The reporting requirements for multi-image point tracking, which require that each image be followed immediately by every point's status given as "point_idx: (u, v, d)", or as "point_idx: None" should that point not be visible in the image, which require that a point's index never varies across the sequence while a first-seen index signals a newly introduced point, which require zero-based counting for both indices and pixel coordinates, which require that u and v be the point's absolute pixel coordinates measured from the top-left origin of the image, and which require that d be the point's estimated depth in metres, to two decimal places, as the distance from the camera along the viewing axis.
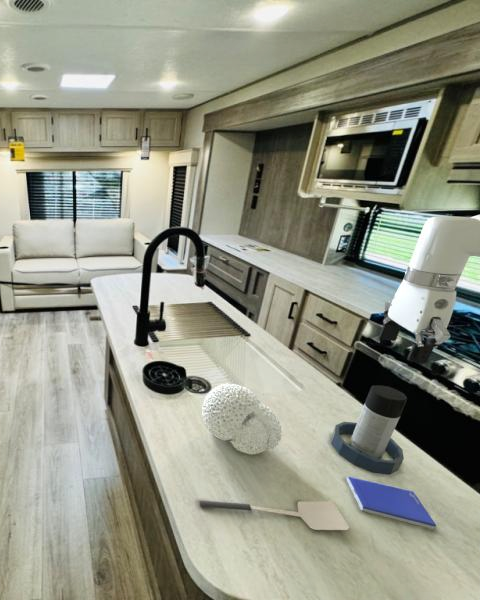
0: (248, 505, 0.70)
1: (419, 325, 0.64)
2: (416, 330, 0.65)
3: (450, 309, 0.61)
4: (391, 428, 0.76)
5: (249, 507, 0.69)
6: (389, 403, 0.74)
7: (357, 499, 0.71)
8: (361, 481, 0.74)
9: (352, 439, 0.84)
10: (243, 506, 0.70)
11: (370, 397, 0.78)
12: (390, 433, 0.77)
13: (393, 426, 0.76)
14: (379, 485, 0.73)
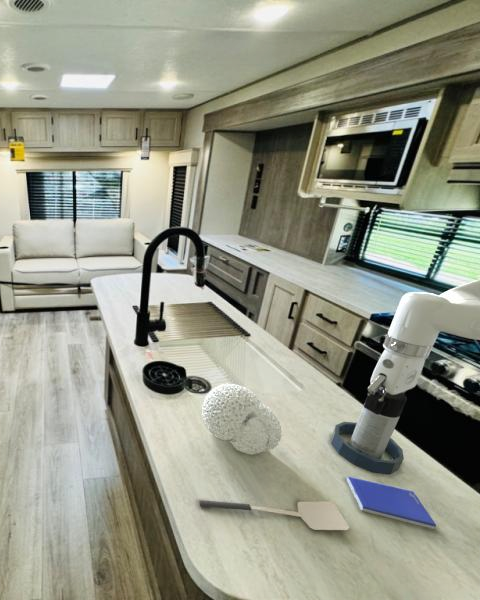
0: (248, 505, 0.70)
1: (371, 377, 0.75)
2: (371, 381, 0.76)
3: (396, 371, 0.71)
4: (391, 428, 0.76)
5: (249, 507, 0.70)
6: (389, 402, 0.74)
7: (357, 499, 0.71)
8: (361, 481, 0.74)
9: (352, 439, 0.84)
10: (243, 505, 0.70)
11: None
12: (390, 432, 0.77)
13: (393, 425, 0.76)
14: (379, 485, 0.73)
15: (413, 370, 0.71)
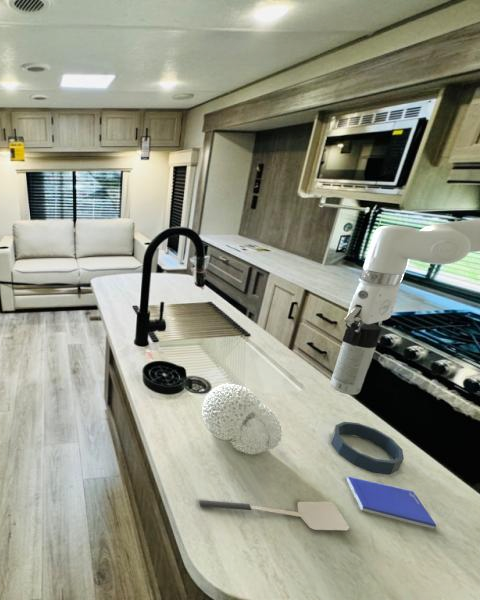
0: (248, 505, 0.70)
1: None
2: (348, 315, 0.81)
3: (370, 300, 0.75)
4: (368, 358, 0.81)
5: (249, 507, 0.70)
6: (365, 333, 0.79)
7: (357, 499, 0.71)
8: (361, 481, 0.74)
9: (333, 375, 0.88)
10: (243, 505, 0.70)
11: None
12: (367, 363, 0.82)
13: (369, 356, 0.81)
14: (379, 485, 0.73)
15: (386, 300, 0.76)
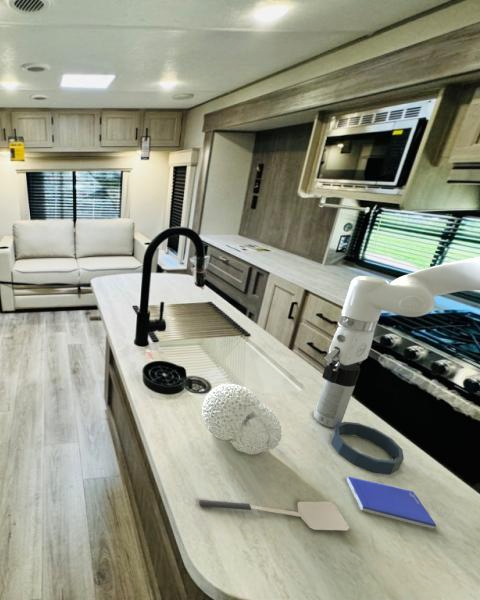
0: (248, 505, 0.70)
1: (329, 351, 0.87)
2: None
3: (347, 344, 0.82)
4: (348, 396, 0.88)
5: (249, 507, 0.70)
6: (345, 373, 0.86)
7: (357, 499, 0.71)
8: (361, 481, 0.74)
9: (316, 408, 0.95)
10: (243, 505, 0.70)
11: None
12: (347, 400, 0.88)
13: (349, 394, 0.87)
14: (379, 485, 0.73)
15: (362, 343, 0.82)
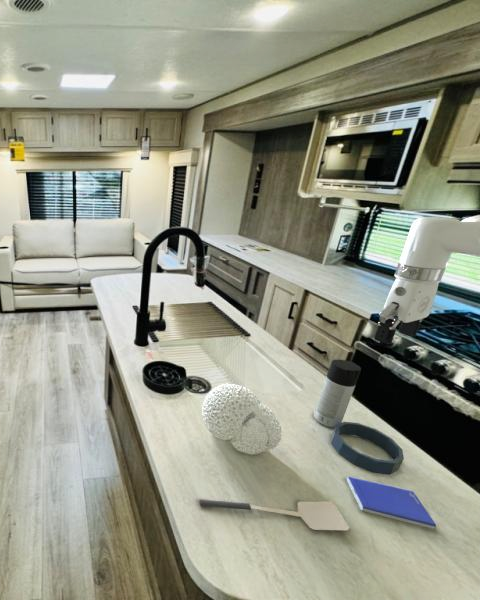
0: (248, 504, 0.70)
1: (383, 308, 0.75)
2: None
3: (408, 297, 0.71)
4: (348, 396, 0.88)
5: (249, 506, 0.70)
6: (345, 373, 0.86)
7: (357, 499, 0.71)
8: (361, 481, 0.74)
9: (316, 408, 0.95)
10: (243, 505, 0.70)
11: (330, 369, 0.89)
12: (347, 400, 0.88)
13: (349, 394, 0.87)
14: (379, 485, 0.73)
15: (426, 296, 0.71)
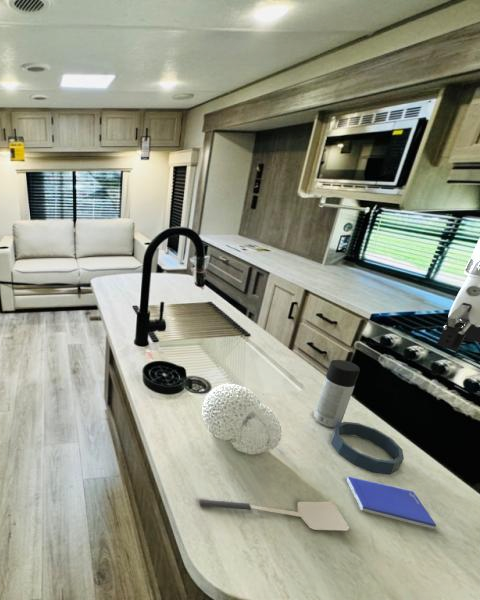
0: (248, 504, 0.70)
1: None
2: None
3: None
4: (347, 396, 0.87)
5: (249, 506, 0.70)
6: (344, 374, 0.85)
7: (357, 499, 0.71)
8: (361, 481, 0.74)
9: (316, 408, 0.95)
10: (243, 505, 0.70)
11: (329, 369, 0.89)
12: (347, 400, 0.88)
13: (348, 394, 0.87)
14: (379, 485, 0.73)
15: None
